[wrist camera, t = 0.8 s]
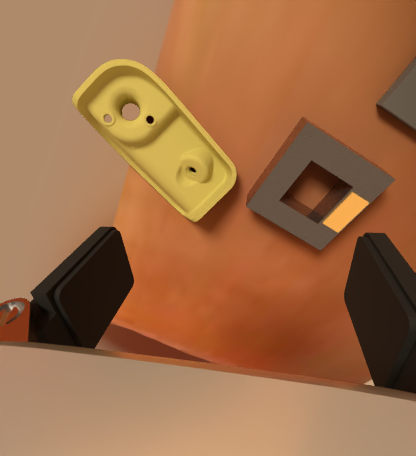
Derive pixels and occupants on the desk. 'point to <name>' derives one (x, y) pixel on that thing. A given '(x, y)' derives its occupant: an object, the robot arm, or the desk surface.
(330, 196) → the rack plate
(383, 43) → the desk surface
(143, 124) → the plastic component
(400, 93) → the pad
